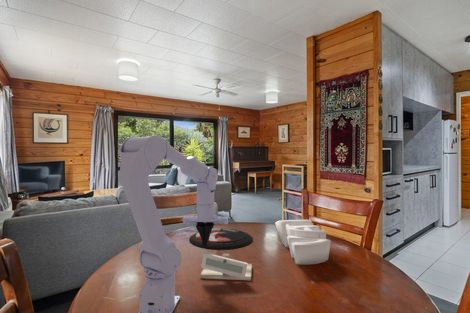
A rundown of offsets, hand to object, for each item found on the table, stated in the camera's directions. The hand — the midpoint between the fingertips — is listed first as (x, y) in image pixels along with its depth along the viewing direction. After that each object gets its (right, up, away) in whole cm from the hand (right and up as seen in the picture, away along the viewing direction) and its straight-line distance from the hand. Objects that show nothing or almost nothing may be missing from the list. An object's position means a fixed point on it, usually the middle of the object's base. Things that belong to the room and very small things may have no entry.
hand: (205, 245), depth 78 cm
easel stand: (+7, -10, +2) cm, 12 cm away
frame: (+6, -7, -3) cm, 10 cm away
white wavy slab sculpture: (+36, -10, +21) cm, 43 cm away
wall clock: (+3, -11, +35) cm, 37 cm away
